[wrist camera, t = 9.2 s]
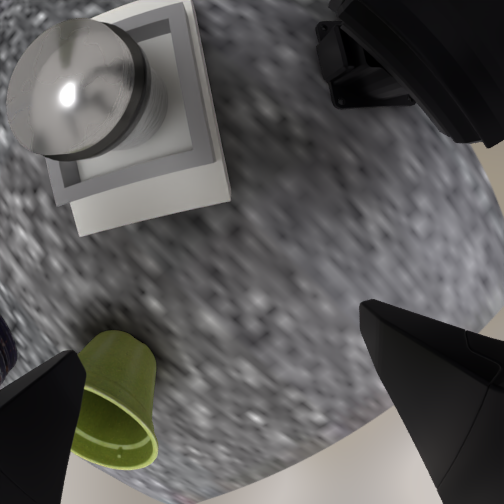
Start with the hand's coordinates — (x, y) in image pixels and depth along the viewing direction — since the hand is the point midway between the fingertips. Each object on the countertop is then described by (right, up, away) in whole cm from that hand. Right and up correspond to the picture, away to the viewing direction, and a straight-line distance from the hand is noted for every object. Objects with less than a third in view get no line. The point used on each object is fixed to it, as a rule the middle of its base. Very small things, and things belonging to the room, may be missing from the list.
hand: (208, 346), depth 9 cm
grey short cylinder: (-6, +10, +6) cm, 13 cm away
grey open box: (-6, +12, +10) cm, 16 cm away
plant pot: (-10, -6, +16) cm, 19 cm away
